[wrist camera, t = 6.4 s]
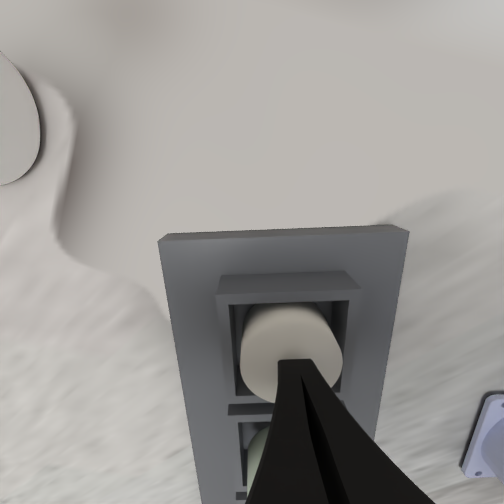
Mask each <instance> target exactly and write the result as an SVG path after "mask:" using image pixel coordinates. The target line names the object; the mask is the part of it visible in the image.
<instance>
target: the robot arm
mask: <svg viewBox="0 0 504 504" xmlns="http://www.w3.org/2000/svg"><path fill="white" fill-rule="evenodd" d="M277 363H278V385H277V393H276V399H275V405H274V410H273V414H272V419H271V423H270V427H269V431H268V435H267V439H266V442H265V446H264V449H263V453H262V456H261V459H260V462H259V465H258V468H257V471H256V474H255V477H254V480H253V483H252V486H251V489H250V491H249V494H248V497H247V500H246V502H245V504H435V503H434V502H433V501H432V500H431V499H430V498H429V497H428V496H427V495H426V494H425V493H424V492H423V491H422V490H420V489H419V488H418V487H417V486H416V485H415V484H414V483H413V482H412V481H411V480H410V479H409V478H408V477H407V476H406V475H405V474H404V473H403V472H402V471H401V470H400V469H399V468H398V467H397V466H396V465H395V464H394V463H393V462H392V461H391V460H390V458H389V457H388V456H387V455H386V454H385V453H384V452H383V451H382V450H381V449H380V448H379V447H378V446H377V444H376V443H375V442H374V441H373V440H372V439H371V438H370V437H369V435H368V434H367V433H366V432H365V431H364V430H363V428H362V427H361V426H360V425H359V424H358V422H357V421H356V420H355V419H354V418H353V416H352V415H351V414H350V413H349V411H348V410H347V409H346V407H345V406H344V405H343V403H342V402H341V401H340V400H339V398H338V397H337V396H336V394H335V393H334V392H333V390H332V389H331V387H330V386H329V385H328V383H327V382H326V380H325V379H324V377H323V376H322V374H321V373H320V371H319V370H318V368H317V367H316V365H315V363H314V362H313V360H312V359H283V360H279V361H278V362H277ZM461 470H462V472H463V473H464V475H465V476H466V477H468V478H477V477H498V479H499V480H500V481H501V482H502V484H503V485H504V394H501V395H491V396H489V397H487V398H486V400H485V403H484V406H483V409H482V411H481V414H480V417H479V420H478V423H477V426H476V428H475V431H474V434H473V437H472V440H471V443H470V445H469V448H468V451H467V454H466V457H465V460H464V463H463V465H462V469H461Z"/></svg>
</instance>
